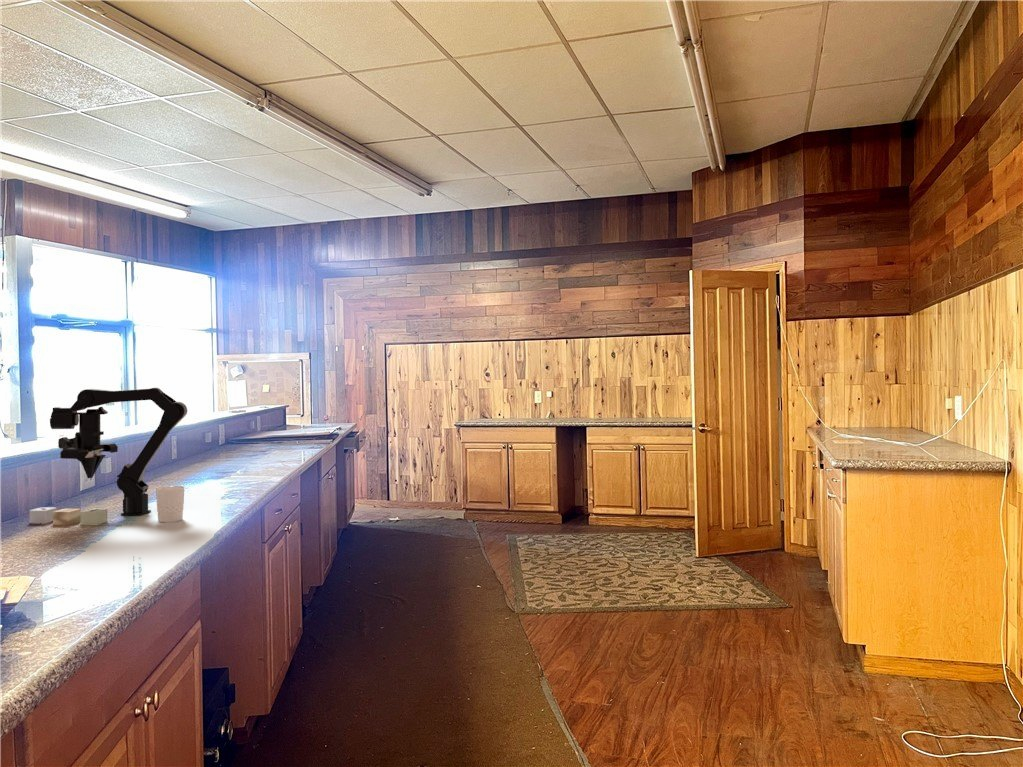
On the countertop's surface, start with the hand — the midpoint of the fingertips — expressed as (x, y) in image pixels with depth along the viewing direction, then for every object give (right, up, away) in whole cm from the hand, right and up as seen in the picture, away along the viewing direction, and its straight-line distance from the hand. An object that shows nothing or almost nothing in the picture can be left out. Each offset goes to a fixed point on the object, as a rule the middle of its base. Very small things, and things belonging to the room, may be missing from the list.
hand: (90, 478), depth 220 cm
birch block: (-1, -12, -10) cm, 16 cm away
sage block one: (+7, -13, -9) cm, 17 cm away
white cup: (+28, -13, -4) cm, 31 cm away
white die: (-9, -12, -8) cm, 17 cm away
